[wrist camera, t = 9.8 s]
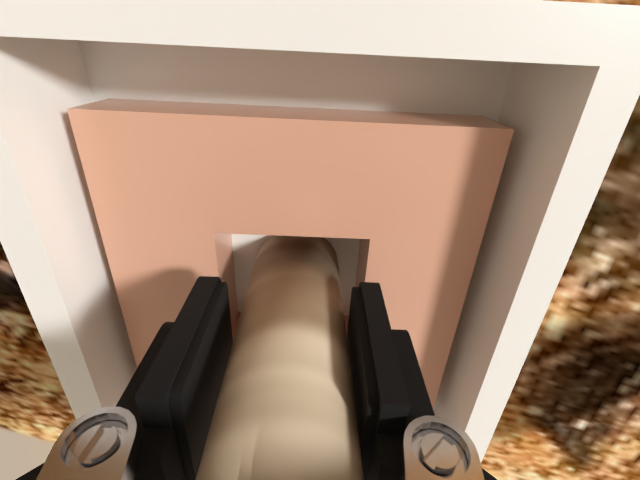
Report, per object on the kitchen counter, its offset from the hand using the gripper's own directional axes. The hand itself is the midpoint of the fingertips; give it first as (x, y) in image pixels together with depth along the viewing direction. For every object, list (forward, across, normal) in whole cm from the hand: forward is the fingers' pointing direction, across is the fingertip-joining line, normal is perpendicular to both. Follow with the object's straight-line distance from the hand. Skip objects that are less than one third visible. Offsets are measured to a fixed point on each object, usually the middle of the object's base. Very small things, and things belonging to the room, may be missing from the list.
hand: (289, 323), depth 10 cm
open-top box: (+4, 0, 0) cm, 4 cm away
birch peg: (+3, 0, 0) cm, 3 cm away
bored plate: (+4, 0, 0) cm, 4 cm away
